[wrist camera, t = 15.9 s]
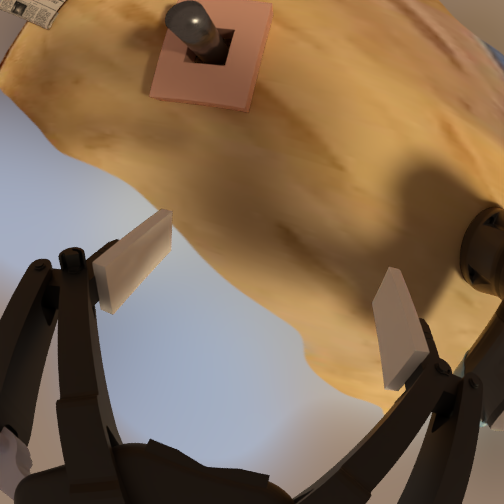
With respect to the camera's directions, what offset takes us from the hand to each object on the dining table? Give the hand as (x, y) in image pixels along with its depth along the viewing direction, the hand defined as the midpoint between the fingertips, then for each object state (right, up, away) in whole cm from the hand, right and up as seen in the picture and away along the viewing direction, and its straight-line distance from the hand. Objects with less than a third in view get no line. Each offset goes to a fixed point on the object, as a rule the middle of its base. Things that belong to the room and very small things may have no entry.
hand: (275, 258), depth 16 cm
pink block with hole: (-6, +28, +16) cm, 33 cm away
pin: (-6, +28, +16) cm, 33 cm away
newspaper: (-50, +58, +11) cm, 77 cm away
